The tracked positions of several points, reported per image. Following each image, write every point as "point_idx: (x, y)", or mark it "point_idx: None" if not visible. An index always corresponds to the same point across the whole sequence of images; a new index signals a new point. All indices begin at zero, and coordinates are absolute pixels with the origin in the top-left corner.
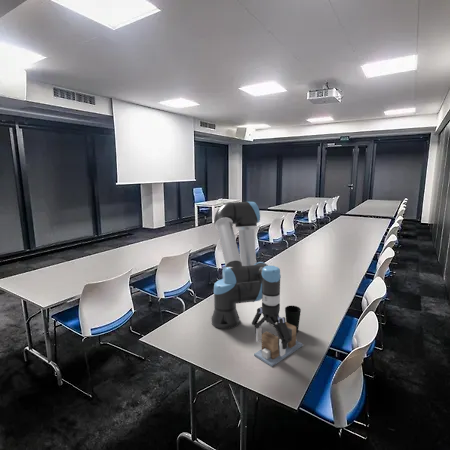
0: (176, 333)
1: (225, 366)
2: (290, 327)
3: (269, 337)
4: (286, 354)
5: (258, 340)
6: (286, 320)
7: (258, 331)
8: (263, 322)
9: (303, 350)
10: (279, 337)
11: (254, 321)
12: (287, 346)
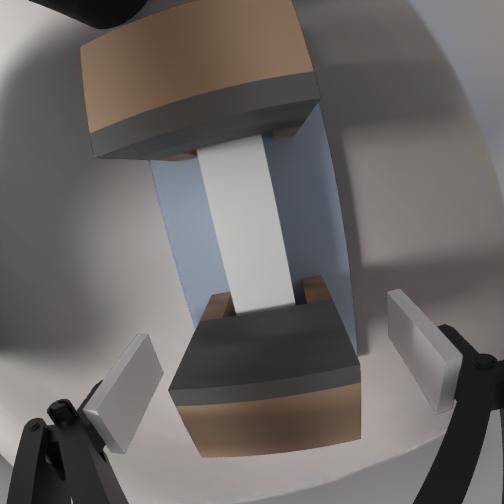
0: (16, 451)
1: (226, 480)
2: (254, 54)
3: (297, 444)
4: (341, 219)
5: (156, 369)
6: (50, 4)
7: (128, 422)
8: (97, 471)
9: (342, 62)
10: (168, 159)
11: (66, 492)
12: (263, 140)
